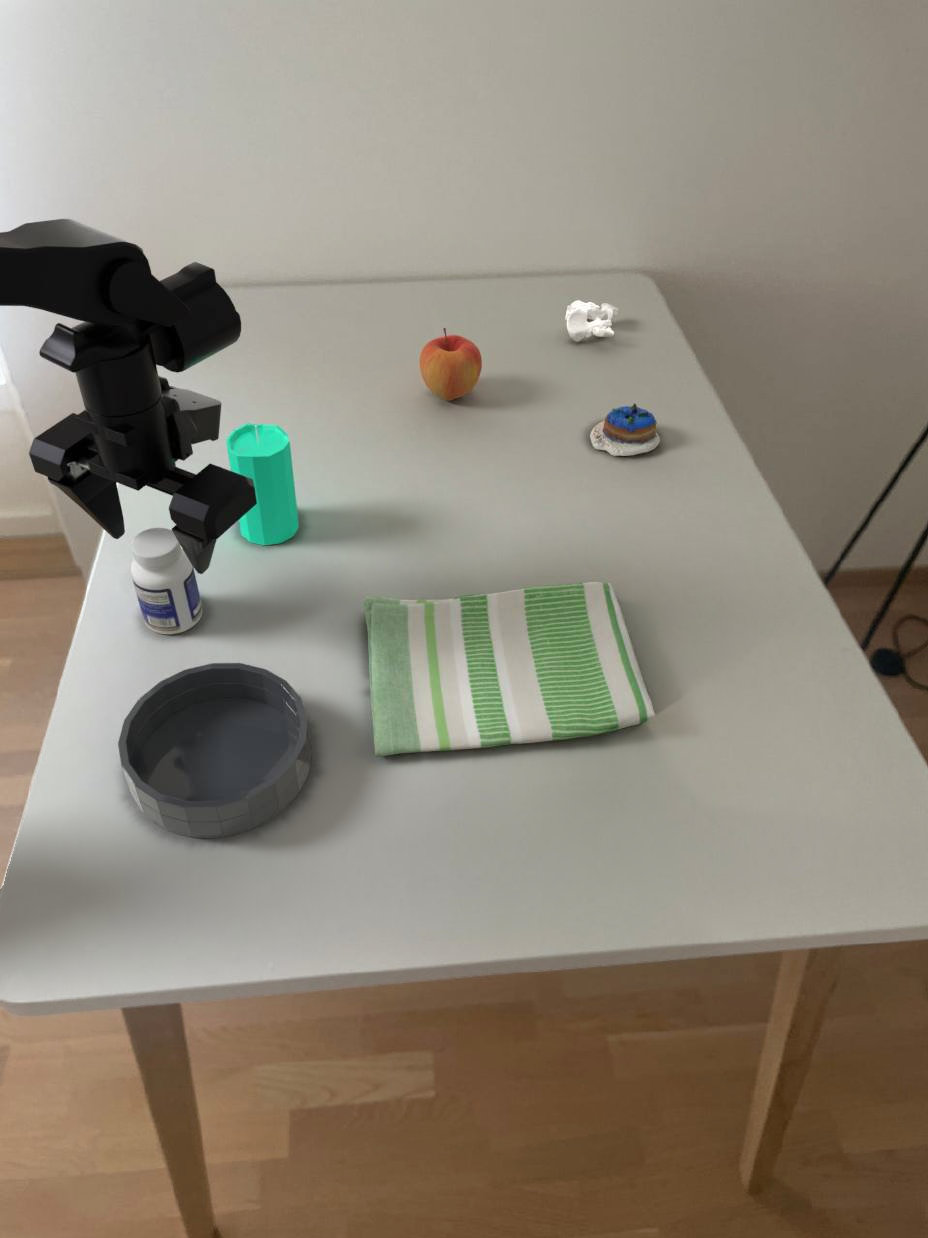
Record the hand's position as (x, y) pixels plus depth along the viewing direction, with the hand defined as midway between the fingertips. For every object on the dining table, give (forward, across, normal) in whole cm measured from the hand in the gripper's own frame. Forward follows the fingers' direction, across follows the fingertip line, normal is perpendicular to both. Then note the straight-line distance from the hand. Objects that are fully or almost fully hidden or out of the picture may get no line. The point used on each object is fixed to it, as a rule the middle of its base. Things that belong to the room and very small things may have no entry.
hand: (160, 553), depth 85 cm
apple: (+8, -4, -46) cm, 47 cm away
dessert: (+8, -26, -48) cm, 55 cm away
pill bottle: (+8, 0, 0) cm, 8 cm away
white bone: (+8, -13, -69) cm, 71 cm away
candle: (+8, 0, -15) cm, 17 cm away
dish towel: (+8, -29, -8) cm, 31 cm away
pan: (+7, -14, +12) cm, 20 cm away
